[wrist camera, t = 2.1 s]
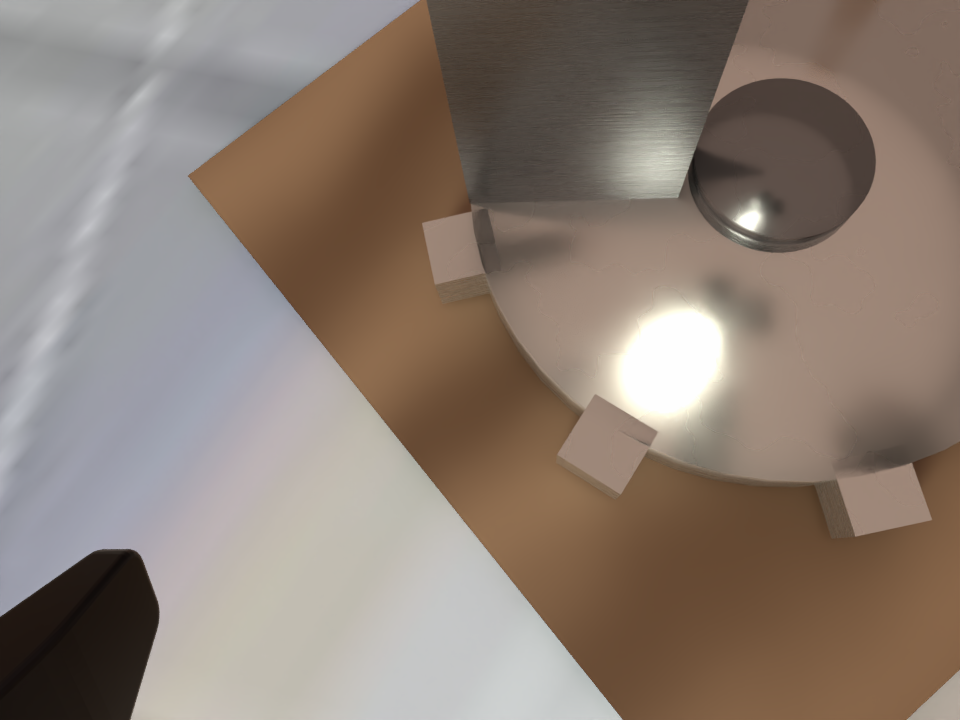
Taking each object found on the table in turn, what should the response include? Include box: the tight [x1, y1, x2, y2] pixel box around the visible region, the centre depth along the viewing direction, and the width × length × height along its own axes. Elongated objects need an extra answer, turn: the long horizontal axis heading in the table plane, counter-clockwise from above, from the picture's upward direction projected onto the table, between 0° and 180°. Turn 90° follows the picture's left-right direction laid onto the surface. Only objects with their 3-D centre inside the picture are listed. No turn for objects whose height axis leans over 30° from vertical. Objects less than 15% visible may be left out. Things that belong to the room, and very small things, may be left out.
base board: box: [188, 0, 960, 720], centre depth 22 cm, size 24×24×3 cm
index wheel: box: [422, 0, 960, 539], centre depth 16 cm, size 18×18×12 cm
